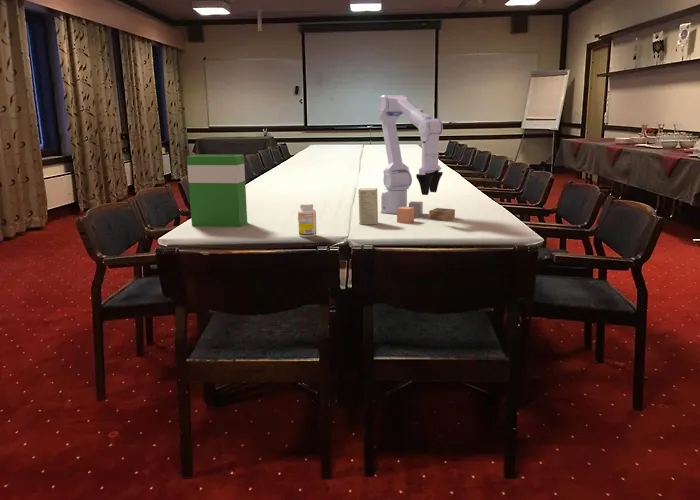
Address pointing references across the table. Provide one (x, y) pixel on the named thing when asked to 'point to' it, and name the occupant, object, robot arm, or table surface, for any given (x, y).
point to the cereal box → (217, 190)
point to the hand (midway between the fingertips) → (429, 193)
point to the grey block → (417, 208)
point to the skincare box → (368, 206)
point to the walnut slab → (441, 214)
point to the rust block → (405, 214)
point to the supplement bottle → (307, 220)
